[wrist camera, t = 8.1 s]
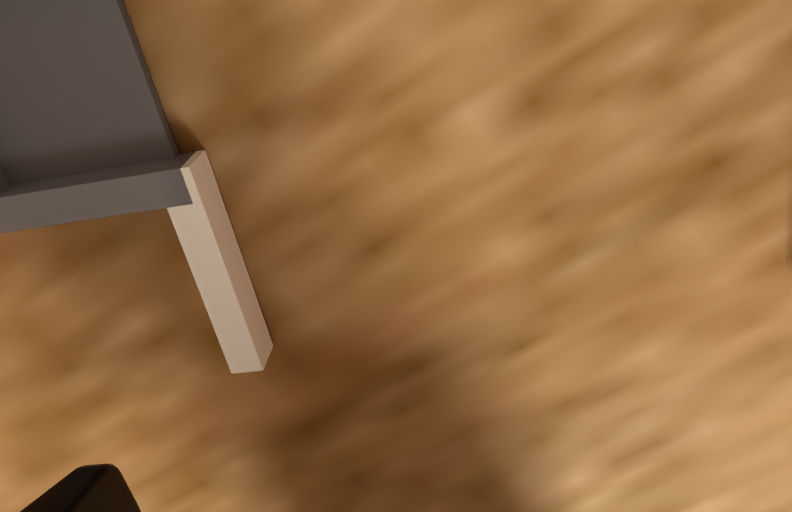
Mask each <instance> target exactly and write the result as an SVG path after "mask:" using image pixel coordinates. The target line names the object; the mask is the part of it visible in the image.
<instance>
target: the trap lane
mask: <svg viewBox="0 0 792 512" xmlns="http://www.w3.org/2000/svg"><path fill="white" fill-rule="evenodd" d="M163 208H167V210H168V212H169V215H170V218H171V220H172V223H173V225H174V228H175V230H176V233H177V235H178V238H179V241H180V243H181V246H182V248H183V251H184V253H185V256H186V259H187V261H188V264H189V266H190V269H191V271H192V274H193V276H194V279H195V282H196V284H197V287H198V289H199V292H200V294H201V297H202V299H203V302H204V305H205V307H206V310H207V312H208V315H209V317H210V320H211V323H212V325H213V328H214V330H215V333H216V335H217V338H218V340H219V343H220V346H221V348H222V351H223V353H224V356H225V358H226V361H227V364H228V366H229V369H230V371H231V374H234V373H244V372H254V371H263V370H264V367H265V365H266V363H267V360H268V358H269V356H270V353H271V351H272V348H273V343H272V340H271V338H270V335H269V332H268V329H267V326H266V323H265V320H264V317H263V315H262V312H261V309H260V306H259V303H258V300H257V297H256V294H255V292H254V289H253V286H252V283H251V280H250V277H249V274H248V272H247V269H246V266H245V263H244V260H243V257H242V254H241V251H240V249H239V246H238V243H237V240H236V237H235V234H234V231H233V228H232V226H231V223H230V220H229V217H228V214H227V211H226V208H225V205H224V203H223V200H222V197H221V194H220V191H219V188H218V185H217V182H216V180H215V177H214V174H213V171H212V168H211V165H210V162H209V160H208V157H207V154H206V151H205V150H200V151H194V152H188V153H182V154H179V152H178V149H177V147H176V144H175V141H174V138H173V136H172V133H171V130H170V127H169V125H168V122H167V119H166V117H165V114H164V111H163V108H162V106H161V103H160V100H159V98H158V95H157V92H156V89H155V87H154V84H153V81H152V78H151V76H150V73H149V70H148V68H147V65H146V62H145V59H144V57H143V54H142V51H141V48H140V46H139V43H138V40H137V38H136V35H135V32H134V29H133V27H132V24H131V21H130V19H129V16H128V13H127V10H126V8H125V5H124V2H123V0H0V233H4V232H11V231H18V230H24V229H31V228H37V227H44V226H51V225H57V224H64V223H70V222H77V221H84V220H90V219H97V218H104V217H110V216H117V215H123V214H130V213H137V212H143V211H150V210H156V209H163Z"/></svg>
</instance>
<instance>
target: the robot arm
mask: <svg viewBox="0 0 792 512" xmlns="http://www.w3.org/2000/svg"><path fill="white" fill-rule="evenodd" d="M20 512H141V511H140V508H139V506H138V504H137V502H136V500H135V499H134V497H133V495H132V493H131V491H130V489H129V487H128V485H127V483H126V481H125V480H124V478H123V476H122V474H121V472H120V471H119V469H118V468H117V467H115V466H114V465H112V464H97V465H85V466H81V467H79V468H77V469H75V470H74V471H72V472H71V473H70V474H68V475H67V476H66V477H65V478H63V479H62V480H61V481H59V482H58V483H57V484H55V485H54V486H53V487H52V488H50V489H49V490H48V491H46V492H45V493H44V494H43V495H41V496H40V497H39V498H37V499H36V500H35V501H33V502H32V503H31V504H30V505H28V506H27V507H26V508H24V509H23V510H22V511H20Z"/></svg>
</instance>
